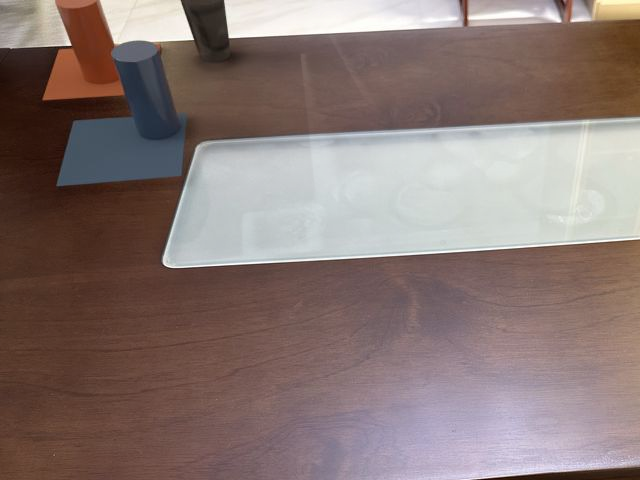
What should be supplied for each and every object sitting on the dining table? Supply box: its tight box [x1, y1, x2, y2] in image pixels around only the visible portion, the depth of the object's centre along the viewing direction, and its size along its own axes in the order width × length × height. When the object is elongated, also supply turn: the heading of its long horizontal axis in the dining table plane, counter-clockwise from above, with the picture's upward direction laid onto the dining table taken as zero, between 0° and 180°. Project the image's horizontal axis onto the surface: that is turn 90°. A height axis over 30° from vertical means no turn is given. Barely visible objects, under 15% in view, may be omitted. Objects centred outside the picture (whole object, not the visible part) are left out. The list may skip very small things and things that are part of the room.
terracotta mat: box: [42, 43, 162, 101], centre depth 108 cm, size 15×15×1 cm
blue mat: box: [55, 112, 188, 187], centre depth 96 cm, size 15×15×1 cm
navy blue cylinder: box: [111, 39, 180, 140], centre depth 95 cm, size 6×6×11 cm
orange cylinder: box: [54, 0, 119, 84], centre depth 103 cm, size 6×6×11 cm
